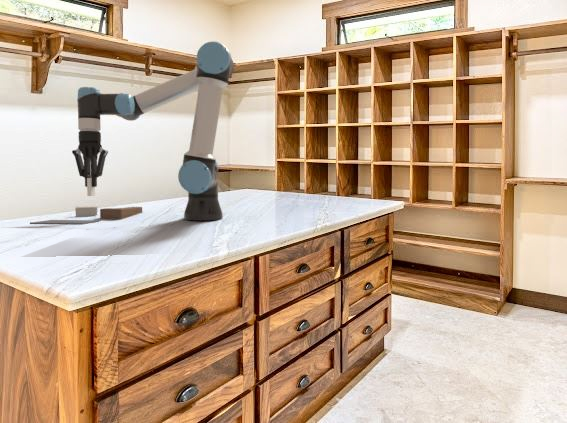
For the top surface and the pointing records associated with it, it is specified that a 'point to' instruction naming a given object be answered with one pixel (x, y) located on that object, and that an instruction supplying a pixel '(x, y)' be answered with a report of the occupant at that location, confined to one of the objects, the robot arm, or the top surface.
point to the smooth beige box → (86, 211)
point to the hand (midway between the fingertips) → (91, 195)
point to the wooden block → (119, 212)
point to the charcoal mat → (65, 222)
